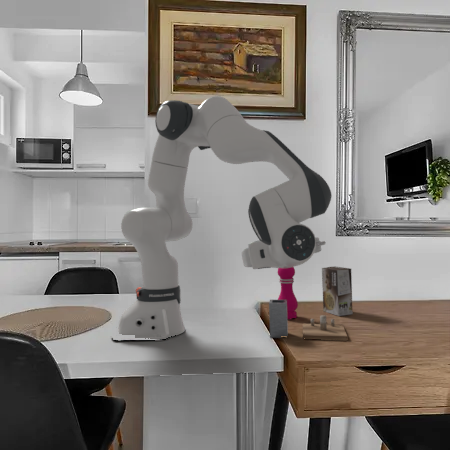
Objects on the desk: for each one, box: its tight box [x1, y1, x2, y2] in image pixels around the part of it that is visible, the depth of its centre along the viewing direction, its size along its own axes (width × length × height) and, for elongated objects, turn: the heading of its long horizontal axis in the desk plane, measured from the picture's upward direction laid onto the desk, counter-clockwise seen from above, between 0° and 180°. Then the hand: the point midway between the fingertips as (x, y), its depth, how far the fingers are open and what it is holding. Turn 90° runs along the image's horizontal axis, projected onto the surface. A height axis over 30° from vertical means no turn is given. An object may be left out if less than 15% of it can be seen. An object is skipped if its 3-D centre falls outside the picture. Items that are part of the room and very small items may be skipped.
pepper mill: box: [277, 266, 299, 320], centre depth 132 cm, size 7×7×20 cm
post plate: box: [302, 315, 348, 342], centre depth 112 cm, size 12×12×5 cm
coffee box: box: [321, 266, 354, 317], centre depth 136 cm, size 9×6×16 cm
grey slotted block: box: [268, 299, 289, 339], centre depth 113 cm, size 8×5×10 cm, turn 169°
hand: (277, 254), depth 105 cm, fingers open, 8 cm apart
